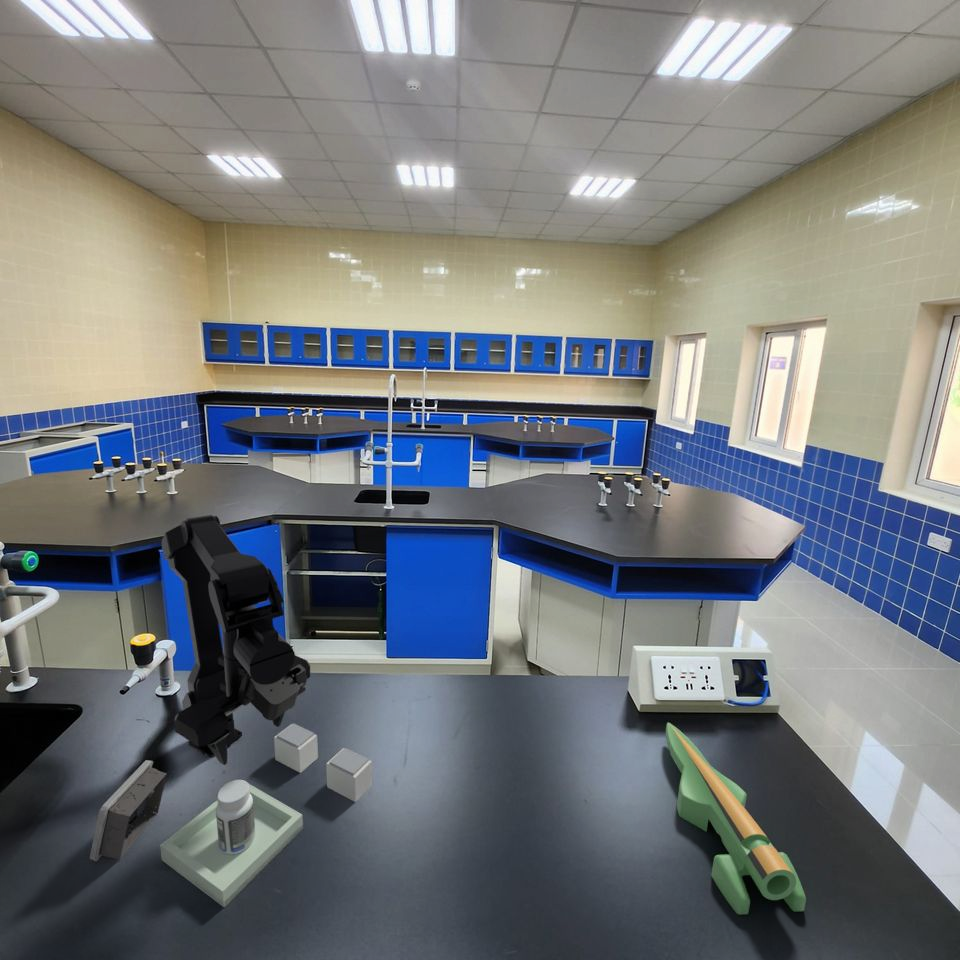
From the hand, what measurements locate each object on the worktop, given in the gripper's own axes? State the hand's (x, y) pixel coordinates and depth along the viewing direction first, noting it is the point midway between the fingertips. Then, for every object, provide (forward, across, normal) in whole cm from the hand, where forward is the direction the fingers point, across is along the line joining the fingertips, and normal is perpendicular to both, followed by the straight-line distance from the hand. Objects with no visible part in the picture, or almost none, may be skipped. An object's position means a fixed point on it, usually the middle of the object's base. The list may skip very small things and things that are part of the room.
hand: (251, 743), depth 76 cm
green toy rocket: (+11, +36, -61) cm, 72 cm away
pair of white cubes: (+12, +11, -3) cm, 16 cm away
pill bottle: (+11, -5, -3) cm, 13 cm away
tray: (+12, -6, -3) cm, 13 cm away
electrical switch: (+12, -12, +11) cm, 20 cm away
